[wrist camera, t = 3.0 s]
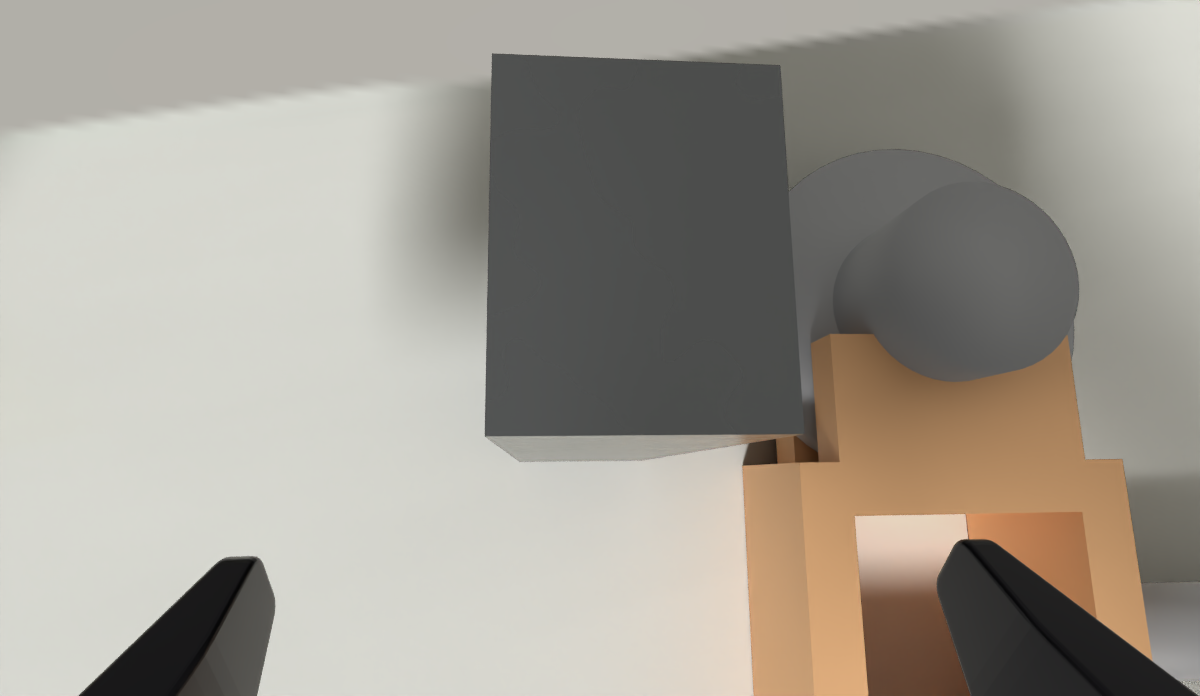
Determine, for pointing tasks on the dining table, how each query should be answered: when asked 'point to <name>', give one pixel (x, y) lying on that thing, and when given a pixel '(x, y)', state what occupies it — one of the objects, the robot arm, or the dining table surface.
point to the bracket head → (935, 417)
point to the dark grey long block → (638, 259)
